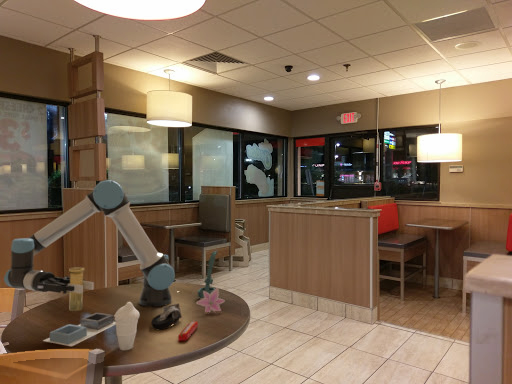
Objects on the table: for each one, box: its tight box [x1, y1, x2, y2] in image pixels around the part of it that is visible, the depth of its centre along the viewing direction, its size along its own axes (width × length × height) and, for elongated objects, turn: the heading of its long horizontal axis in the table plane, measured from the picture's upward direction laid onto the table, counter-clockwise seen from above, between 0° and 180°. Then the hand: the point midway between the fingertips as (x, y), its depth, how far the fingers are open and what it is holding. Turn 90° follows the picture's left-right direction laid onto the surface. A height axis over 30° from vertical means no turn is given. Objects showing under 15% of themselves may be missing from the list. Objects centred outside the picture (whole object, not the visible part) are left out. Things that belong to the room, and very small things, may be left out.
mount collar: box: [80, 312, 114, 330], centre depth 143 cm, size 8×8×3 cm
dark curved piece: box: [197, 250, 218, 299], centre depth 182 cm, size 14×10×25 cm
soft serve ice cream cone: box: [113, 301, 141, 351], centre depth 125 cm, size 8×8×16 cm
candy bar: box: [177, 320, 199, 342], centre depth 138 cm, size 16×4×3 cm, turn 173°
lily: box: [195, 287, 226, 313], centre depth 165 cm, size 12×12×10 cm
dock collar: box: [49, 323, 87, 344], centre depth 130 cm, size 8×8×3 cm
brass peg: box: [68, 266, 85, 312], centre depth 135 cm, size 5×5×15 cm
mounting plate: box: [42, 321, 116, 347], centre depth 137 cm, size 24×13×1 cm, turn 162°
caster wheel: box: [151, 303, 183, 331], centre depth 147 cm, size 7×11×10 cm
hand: (87, 287), depth 133 cm, fingers closed on brass peg, 4 cm apart
